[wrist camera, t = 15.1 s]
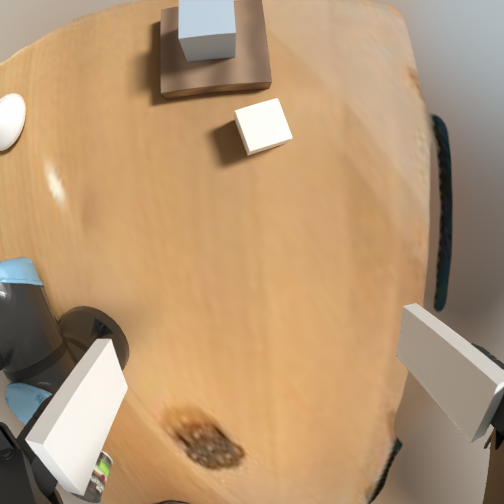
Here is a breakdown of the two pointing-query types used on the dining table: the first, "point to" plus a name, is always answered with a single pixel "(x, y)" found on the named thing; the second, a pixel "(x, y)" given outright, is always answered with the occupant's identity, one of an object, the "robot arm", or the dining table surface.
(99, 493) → the coffee can
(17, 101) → the flower in vase
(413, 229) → the dining table surface
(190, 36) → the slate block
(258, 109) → the white cube
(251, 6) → the walnut block
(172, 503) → the plant pot
